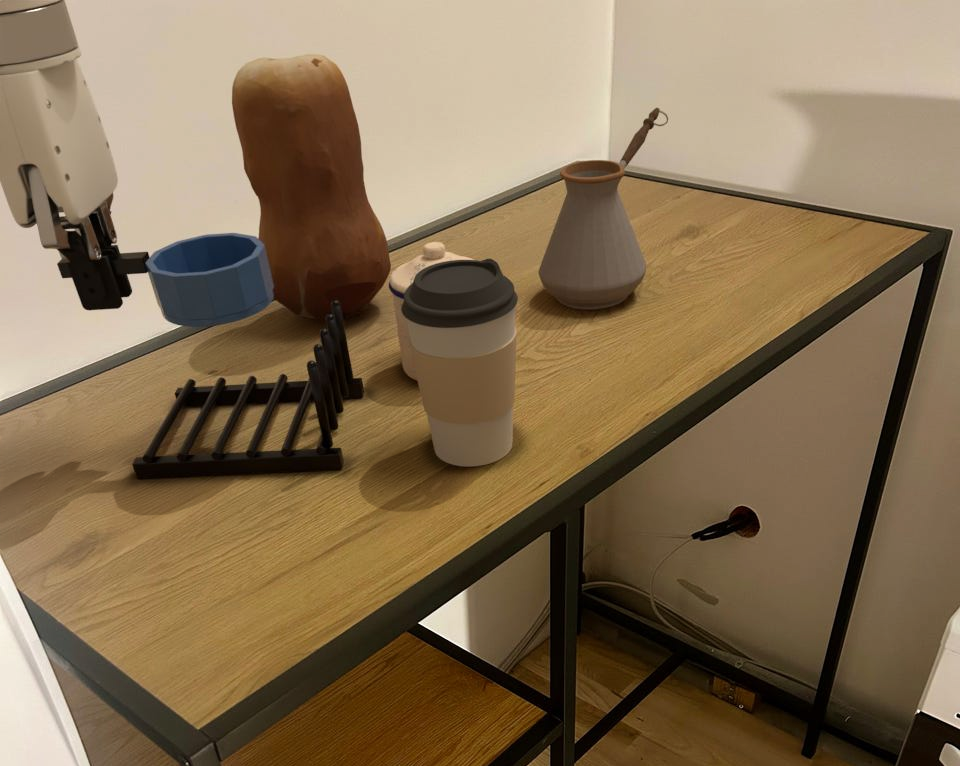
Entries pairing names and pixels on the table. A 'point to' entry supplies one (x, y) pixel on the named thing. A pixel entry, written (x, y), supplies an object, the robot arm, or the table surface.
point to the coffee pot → (595, 235)
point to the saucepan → (202, 278)
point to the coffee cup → (465, 357)
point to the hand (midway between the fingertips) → (108, 300)
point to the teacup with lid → (403, 280)
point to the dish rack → (264, 417)
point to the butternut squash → (309, 184)
